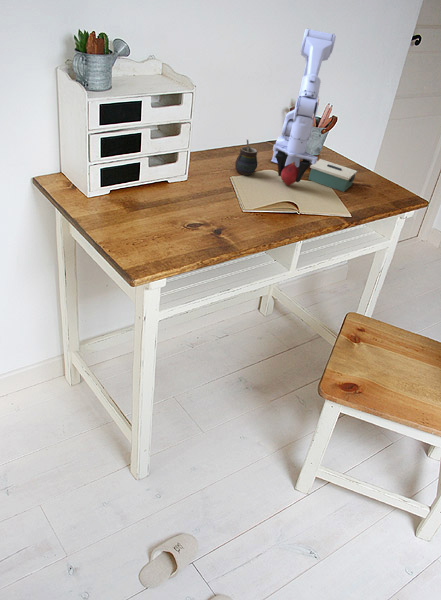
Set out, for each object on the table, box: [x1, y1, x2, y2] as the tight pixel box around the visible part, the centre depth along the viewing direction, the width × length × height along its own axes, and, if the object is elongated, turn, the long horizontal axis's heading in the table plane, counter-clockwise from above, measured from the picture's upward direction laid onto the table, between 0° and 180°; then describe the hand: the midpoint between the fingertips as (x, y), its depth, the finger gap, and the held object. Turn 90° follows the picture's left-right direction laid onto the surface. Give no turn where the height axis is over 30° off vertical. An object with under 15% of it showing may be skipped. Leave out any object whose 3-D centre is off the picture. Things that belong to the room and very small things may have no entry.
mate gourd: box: [234, 139, 258, 176], centre depth 182 cm, size 7×8×10 cm
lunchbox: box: [307, 158, 358, 193], centre depth 189 cm, size 14×10×6 cm, turn 61°
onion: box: [280, 162, 299, 186], centre depth 179 cm, size 6×6×8 cm
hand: (288, 178), depth 180 cm, fingers closed on onion, 6 cm apart
